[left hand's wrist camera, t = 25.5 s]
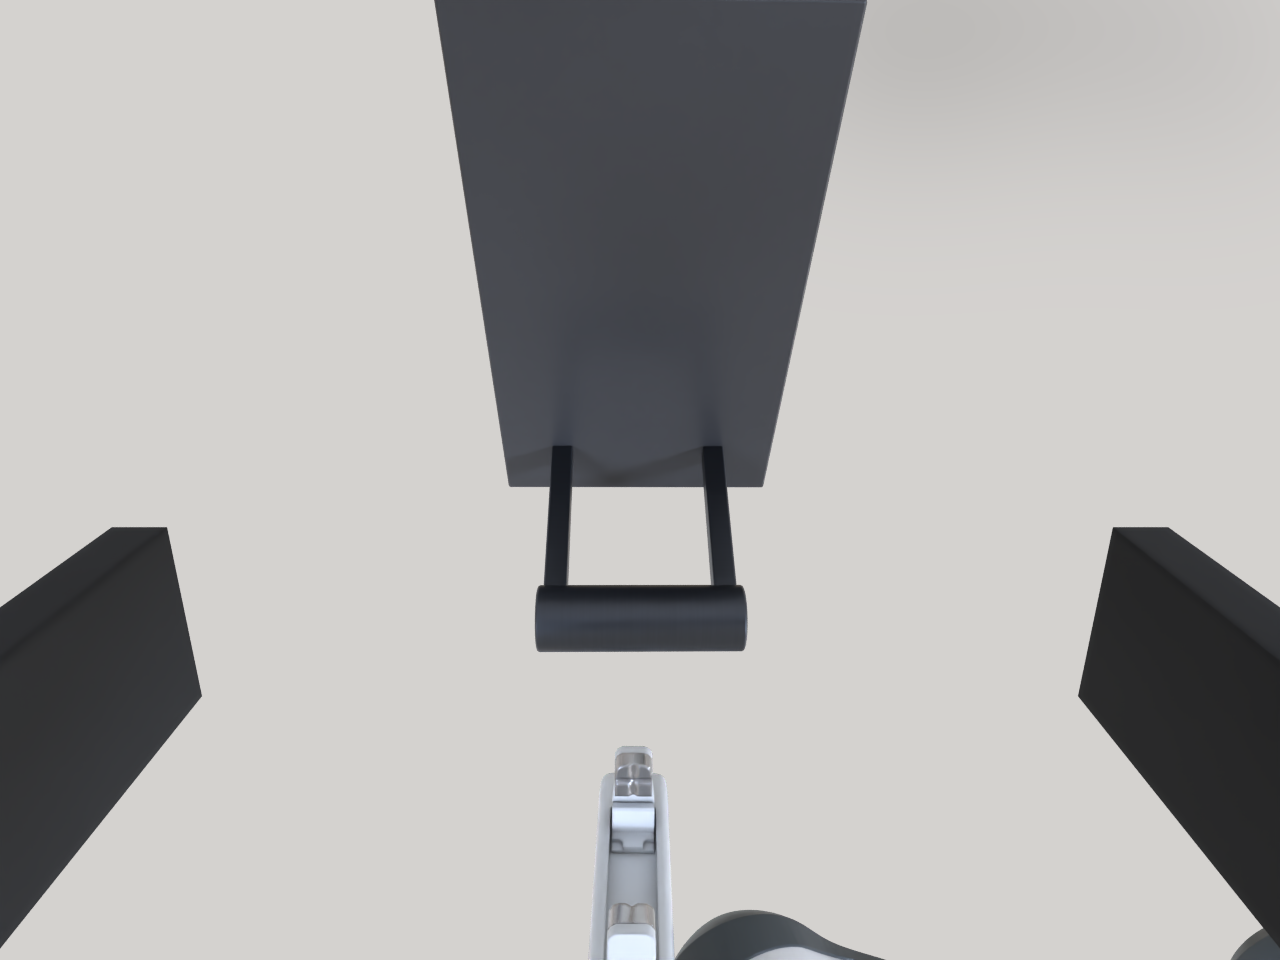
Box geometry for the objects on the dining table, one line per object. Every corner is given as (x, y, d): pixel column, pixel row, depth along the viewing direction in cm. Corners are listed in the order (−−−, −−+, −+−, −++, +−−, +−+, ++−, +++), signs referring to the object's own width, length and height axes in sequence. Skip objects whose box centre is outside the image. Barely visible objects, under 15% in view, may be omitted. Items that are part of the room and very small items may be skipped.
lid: (760, 466, 33) (787, 677, 28) (511, 466, 33) (490, 678, 27) (860, -20, 20) (950, 208, 14) (438, -28, 19) (371, 202, 14)
